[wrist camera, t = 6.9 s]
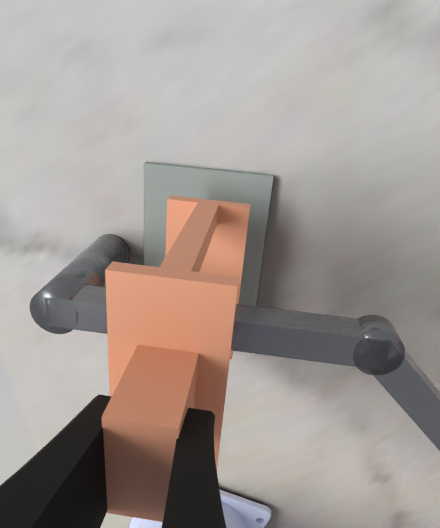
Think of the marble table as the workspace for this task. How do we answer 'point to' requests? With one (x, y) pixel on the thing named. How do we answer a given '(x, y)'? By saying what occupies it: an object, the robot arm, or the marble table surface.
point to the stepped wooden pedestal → (169, 348)
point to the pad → (213, 188)
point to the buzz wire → (255, 332)
